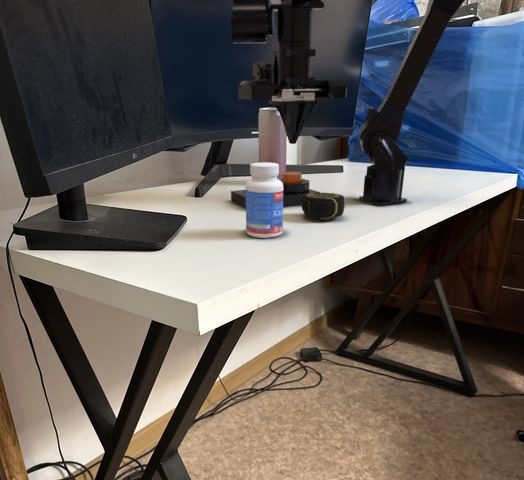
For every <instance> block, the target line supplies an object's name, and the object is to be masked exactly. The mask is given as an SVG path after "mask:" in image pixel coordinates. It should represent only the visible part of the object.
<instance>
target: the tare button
mask: <svg viewBox="0 0 524 480" xmlns="http://www.w3.org/2000/svg"><path fill="white" fill-rule="evenodd" d="M301 179H303V178H302V172H300V171H286V172H284V173H282V182H283V183H300V182H301Z"/></svg>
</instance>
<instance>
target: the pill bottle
mask: <svg viewBox="0 0 524 480" xmlns="http://www.w3.org/2000/svg"><path fill="white" fill-rule="evenodd" d="M249 173H250V176H251V179H249V180H248V181H246V183H245V190H246V208H245V231H246V234H247V235H248V236H250V237H253V238H262V239H263V238H264V239H265V238H267V239H269V238H274V237H278V236H280V235H282V234H283V229H284V207H283V183H282V182H281V181H280V180H278V179H277V175H279V174H278V173H279V164H277V163H259V162H253V163H250V168H249Z"/></svg>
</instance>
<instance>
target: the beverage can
mask: <svg viewBox="0 0 524 480" xmlns="http://www.w3.org/2000/svg"><path fill="white" fill-rule="evenodd" d="M257 118H258V123H257V124H258V163H277V164H279V173H278V174H279V175H277V179H282V173H284V172H287V143H288V142H287V140H288V137H287V134H286V131H285V127H284V124H283V121H282V118H281V116H280V114H279V112H278V110H277V109H276V107H261V108H260V107H259V110H258V117H257Z"/></svg>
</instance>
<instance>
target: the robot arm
mask: <svg viewBox="0 0 524 480" xmlns="http://www.w3.org/2000/svg"><path fill="white" fill-rule="evenodd" d="M232 1H233V3H232V9H231V15H232V16H231V17H230V28H231V29H230V30H231V38H232V42H233V45H234V44H267V43H268V38H271V37H274V35H275V12H277V37H276V38H277V39H276V40H277V41H276V42H277V43H276V44H277V49H275V50H273V54H272V61H271V63H267V62H266V61H264V60H256V61H255V62H253V64H252V80H241V82H240V84H239V85H238V89H237V91H238V94H237V95H238V100H249V101H254V100H255V101H260V100H261V101H262V100H263V101H264V100H266V101H267V100H268V104H269V105H273V107H274V108H276V109H277V110H278V112H279V114H280V116H281V118H282V121H283V124H284V127H285V131H286V134H287V140H288V143H289V144H290V145H295V144H297V142H298V140H299V138H300V136H301V133H302V131H303V128H304V127H305V124H306V121H307V120H308V118H309V116H310V114H311V112H312V111H313V109H314V107H315V105H319V103H320V101H319V100H315V99H316V98H331V99H342V98H343V99H345V98H347V92H348V91H347V90H348V87H347V85H346V82H345V80H344V79H324V80H323V79H321V80H319V79H318V80H317V79H316V78H315V77H312V76H311V75H312V57H316V54H317V49H315V48H313V47H312V42H313V17H314V16H313V15H314V12H318V11H319V12H321V11H324V9H325V2H324V1H322V0H291V3H290V4H284V2H285V1H286V0H232ZM427 1H428V2H427V5H426V9H425V13H424V16H423V17H422V20H421V22H420V23H419V25H418V26H419V27H418V28H417V30H416V32H415V34H414V36H413V38H412V41H411V43H410V45H409V47H408V49H407V51H406V52H405V53H406V54H405V55H404V58H403V60H402V62H401V64H400V66H399V68H398V70H397V72H396V74H395V77H394V79H393V81H392V83H391V85H390V87H389V89H388V92H387V93H386V96H385V98H384V99H383V100H382V102H381V104H379V106H378V107H377V109H375V108H374V107H372V106H369V107H368V109H367V113H366V116H365V120H364V122H363V123H362V125H361V126H360V127H359V128H358V130H359V131H360V136H359V144H360V148H361V150H362V151H363V152H364V153H365V154H366V156H367V157H369V160H370V163H371V164H370V165H367V166H366V174H365V175H364V180H363V191H362V195H360V196H359V197H358V199H359V200H361V201H364V202H368V203H370V204H374V205H378V206H384V205H385V206H386V205H393V204H399V203H400V204H401V203H407V202H408V198H405V197H403V188H404V181H405V171H406V163H407V162H408V157H407V155H406V153H405V152H404V151H402V149H401V148H400V147H399V145H397V143H398V140H399V137H400V134H401V131H402V127H403V122H404V117H405V114H406V110H407V107H408V105H409V104H410V101H411V100H412V97H413V95H414V94H415V92H416V89H417V87H418V85H419V83H420V82H421V79H422V77H423V75H424V73H425V71H426V69H427V67H428V66H429V63H430V61H431V59H432V57H433V55H434V53H435V51H436V49H437V47H438V45H439V43H440V41H441V39H442V38H443V35H444V32H445V30H446V29H447V27H448V25H449V23H450V22H451V19H452V18H453V17H454V15H455V14H456V13H457V11H458V10H459V9H460V8H461V6H462V5H463V3H465V1H466V0H427ZM315 79H316V80H315ZM298 87H302V88H298Z"/></svg>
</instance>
